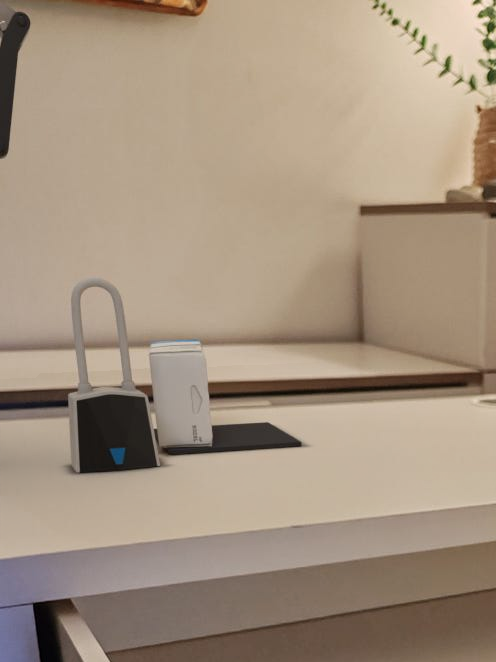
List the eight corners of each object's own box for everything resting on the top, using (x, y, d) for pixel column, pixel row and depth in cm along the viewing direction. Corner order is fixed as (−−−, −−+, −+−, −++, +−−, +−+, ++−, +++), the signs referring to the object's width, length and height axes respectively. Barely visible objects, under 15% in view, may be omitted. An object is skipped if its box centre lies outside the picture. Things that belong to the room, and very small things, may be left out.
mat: (149, 432, 103) (149, 428, 103) (268, 425, 108) (268, 422, 107) (170, 454, 92) (169, 450, 92) (301, 446, 96) (301, 441, 96)
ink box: (149, 340, 100) (146, 350, 89) (202, 339, 101) (205, 349, 90) (159, 429, 103) (157, 449, 92) (210, 426, 104) (214, 446, 93)
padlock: (151, 458, 90) (132, 276, 85) (161, 466, 87) (142, 278, 81) (70, 464, 87) (45, 277, 82) (77, 473, 84) (52, 278, 78)
